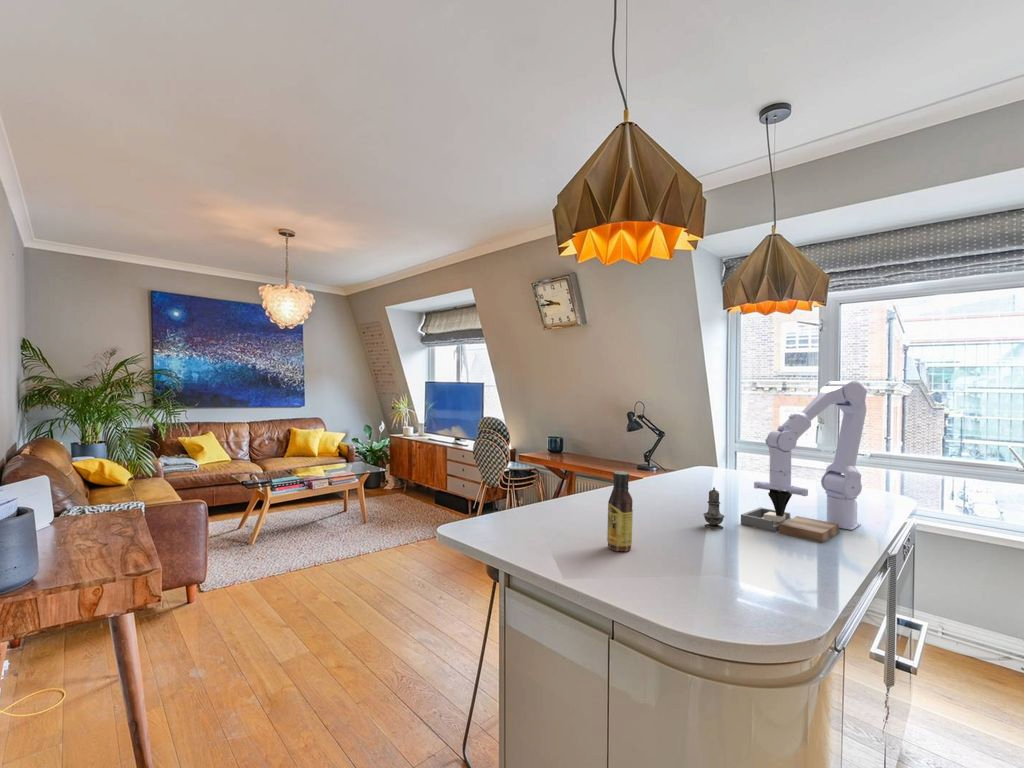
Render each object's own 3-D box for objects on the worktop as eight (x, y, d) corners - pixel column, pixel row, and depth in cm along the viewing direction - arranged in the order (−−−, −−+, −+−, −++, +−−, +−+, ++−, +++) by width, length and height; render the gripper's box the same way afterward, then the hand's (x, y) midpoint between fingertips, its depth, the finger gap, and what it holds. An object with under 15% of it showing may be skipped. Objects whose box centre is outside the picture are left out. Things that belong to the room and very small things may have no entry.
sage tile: (766, 520, 153) (766, 515, 153) (781, 523, 150) (781, 518, 150) (760, 523, 150) (760, 518, 150) (775, 526, 147) (776, 521, 147)
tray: (760, 516, 159) (760, 507, 159) (793, 523, 152) (793, 513, 152) (740, 524, 150) (740, 514, 150) (775, 532, 143) (775, 521, 143)
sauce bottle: (604, 545, 130) (605, 469, 130) (627, 544, 130) (628, 469, 130) (611, 553, 123) (612, 474, 123) (635, 553, 124) (636, 474, 124)
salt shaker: (726, 530, 144) (726, 489, 144) (705, 529, 145) (705, 488, 145) (722, 525, 150) (722, 485, 150) (701, 523, 151) (701, 484, 151)
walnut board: (797, 524, 151) (797, 516, 151) (838, 532, 143) (838, 523, 143) (779, 533, 142) (779, 524, 142) (822, 542, 134) (822, 533, 134)
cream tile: (769, 516, 153) (769, 511, 153) (785, 519, 149) (785, 514, 149) (763, 518, 150) (763, 514, 150) (779, 522, 146) (779, 517, 146)
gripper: (749, 468, 151) (749, 513, 151) (801, 475, 140) (801, 523, 140) (759, 466, 156) (759, 509, 156) (810, 473, 145) (810, 519, 145)
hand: (779, 515), depth 148 cm, fingers closed, pressing on cream tile
